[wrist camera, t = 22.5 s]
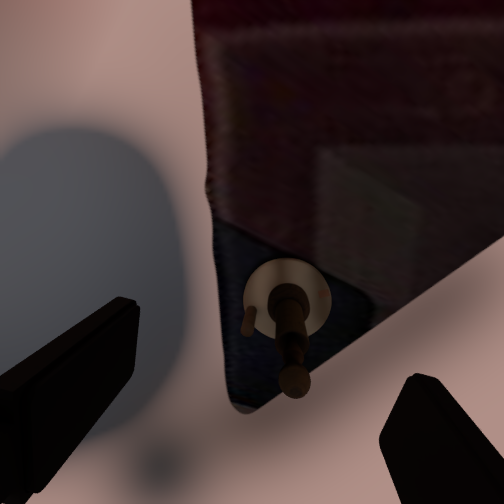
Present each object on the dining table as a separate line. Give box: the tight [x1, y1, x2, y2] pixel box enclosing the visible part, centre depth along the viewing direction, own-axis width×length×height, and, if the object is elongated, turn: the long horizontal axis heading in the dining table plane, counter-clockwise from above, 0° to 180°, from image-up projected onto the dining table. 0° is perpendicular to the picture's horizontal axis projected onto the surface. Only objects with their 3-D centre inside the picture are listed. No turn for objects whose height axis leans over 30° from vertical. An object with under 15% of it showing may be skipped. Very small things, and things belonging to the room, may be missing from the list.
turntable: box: [241, 258, 331, 339], centre depth 37 cm, size 14×14×8 cm
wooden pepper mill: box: [267, 283, 311, 399], centre depth 31 cm, size 7×6×18 cm
